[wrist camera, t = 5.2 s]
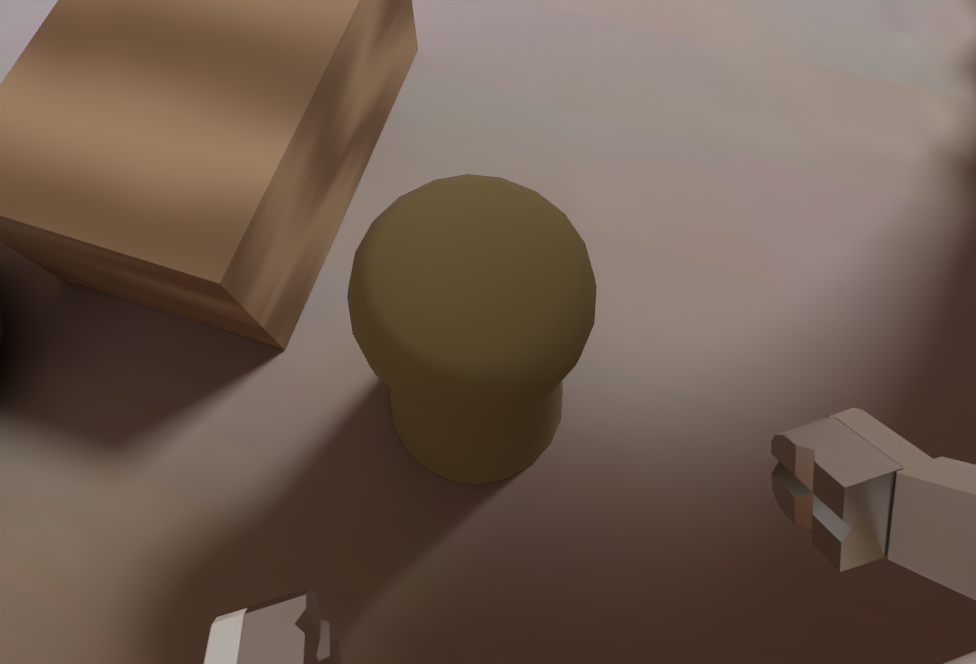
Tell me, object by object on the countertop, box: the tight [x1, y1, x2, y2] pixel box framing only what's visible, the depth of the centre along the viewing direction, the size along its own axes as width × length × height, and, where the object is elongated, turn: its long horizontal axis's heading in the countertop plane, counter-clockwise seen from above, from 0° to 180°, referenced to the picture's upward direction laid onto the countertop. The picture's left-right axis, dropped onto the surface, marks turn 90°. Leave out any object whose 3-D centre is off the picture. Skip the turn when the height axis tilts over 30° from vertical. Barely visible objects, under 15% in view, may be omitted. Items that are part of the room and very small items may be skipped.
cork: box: [347, 174, 596, 484], centre depth 17 cm, size 6×6×11 cm
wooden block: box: [0, 0, 418, 350], centre depth 23 cm, size 14×9×6 cm, turn 162°
